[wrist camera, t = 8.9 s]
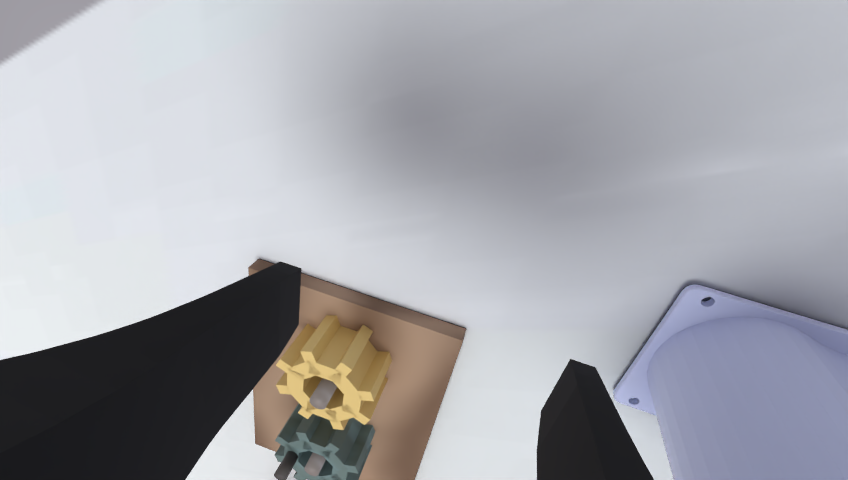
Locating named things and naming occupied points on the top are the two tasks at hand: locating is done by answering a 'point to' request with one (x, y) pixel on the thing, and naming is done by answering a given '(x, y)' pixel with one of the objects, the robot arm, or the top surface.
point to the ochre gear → (335, 371)
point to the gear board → (396, 409)
